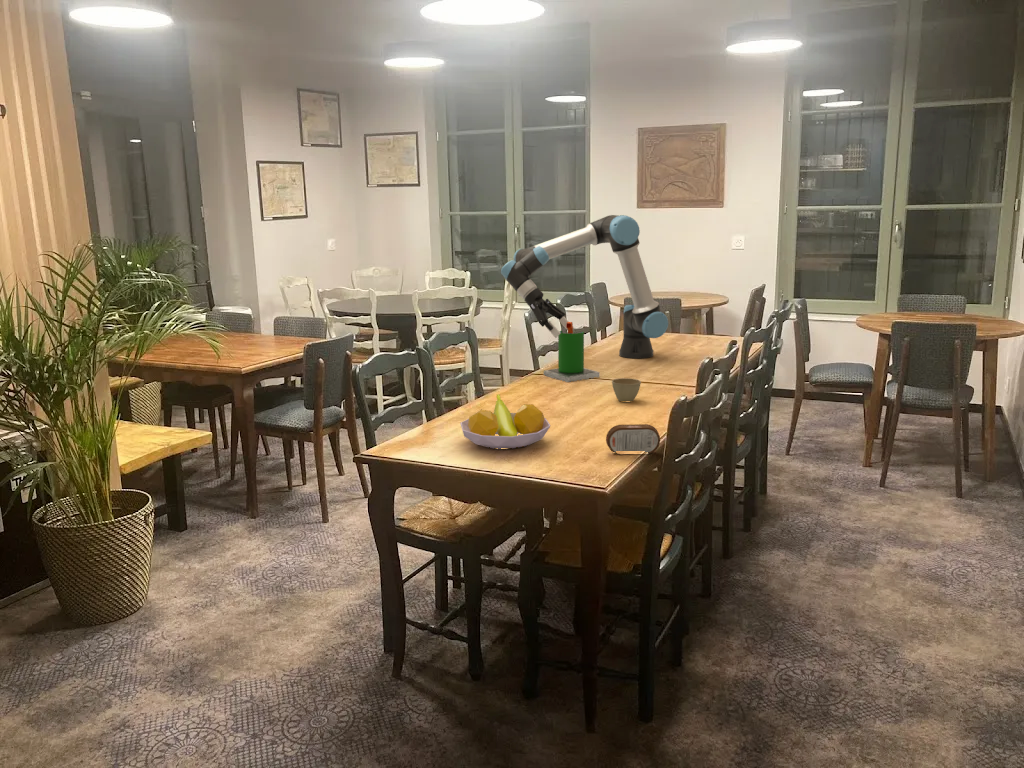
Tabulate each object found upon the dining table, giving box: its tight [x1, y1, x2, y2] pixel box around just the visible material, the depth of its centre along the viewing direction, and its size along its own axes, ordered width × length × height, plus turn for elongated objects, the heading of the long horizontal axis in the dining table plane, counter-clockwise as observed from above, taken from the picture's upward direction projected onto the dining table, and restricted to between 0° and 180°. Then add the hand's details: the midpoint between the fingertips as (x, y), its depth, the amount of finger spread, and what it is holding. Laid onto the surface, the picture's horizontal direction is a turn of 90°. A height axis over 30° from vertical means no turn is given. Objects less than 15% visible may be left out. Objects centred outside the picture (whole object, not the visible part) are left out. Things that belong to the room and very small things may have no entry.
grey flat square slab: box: [543, 367, 601, 383], centre depth 335 cm, size 16×16×2 cm
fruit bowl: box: [460, 393, 551, 450], centre depth 247 cm, size 28×27×11 cm
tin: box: [605, 423, 661, 455], centre depth 234 cm, size 15×3×8 cm, turn 92°
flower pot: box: [611, 377, 642, 402], centre depth 294 cm, size 10×10×7 cm
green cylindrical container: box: [557, 321, 585, 373], centre depth 333 cm, size 10×9×20 cm
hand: (565, 333), depth 333 cm, fingers open, 13 cm apart
